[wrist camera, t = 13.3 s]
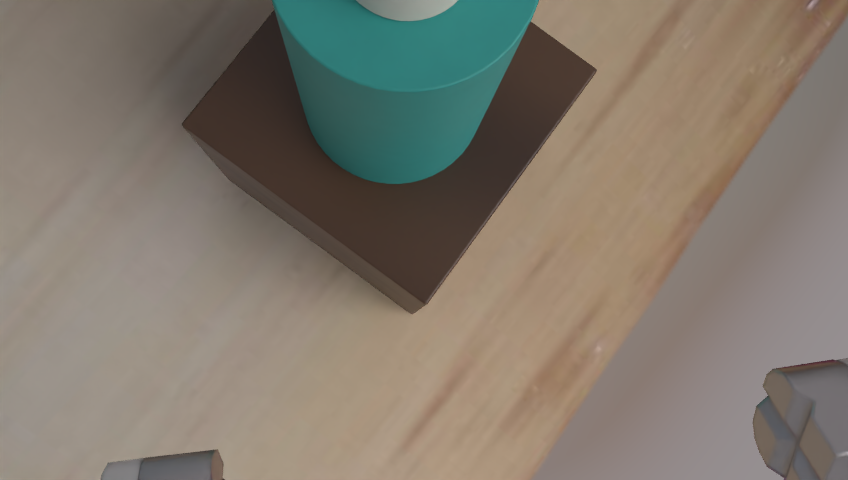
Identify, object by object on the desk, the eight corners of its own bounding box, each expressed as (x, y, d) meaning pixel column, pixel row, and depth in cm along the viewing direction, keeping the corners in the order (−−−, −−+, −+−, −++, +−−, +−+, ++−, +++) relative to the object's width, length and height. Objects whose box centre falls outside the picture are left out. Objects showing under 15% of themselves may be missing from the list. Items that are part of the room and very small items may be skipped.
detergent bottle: (489, 179, 27) (574, 60, 16) (307, 189, 27) (260, 74, 15) (476, 7, 28) (547, -226, 16) (299, 13, 27) (247, -220, 16)
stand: (412, 315, 35) (426, 305, 26) (228, 179, 36) (180, 124, 27) (543, 135, 37) (598, 69, 28) (365, 6, 37) (363, -102, 28)
